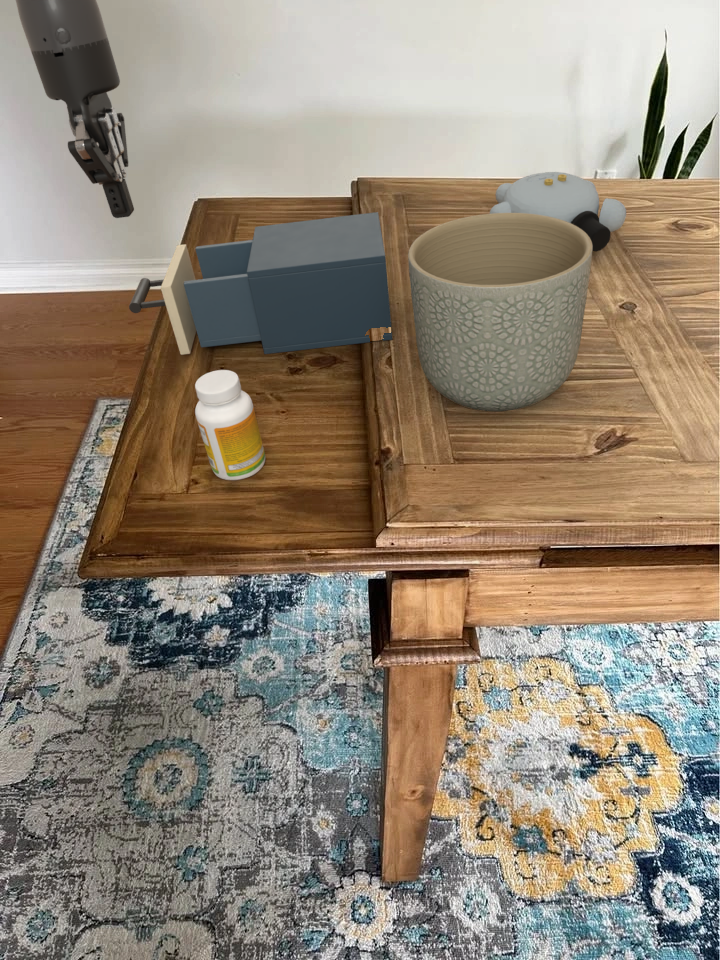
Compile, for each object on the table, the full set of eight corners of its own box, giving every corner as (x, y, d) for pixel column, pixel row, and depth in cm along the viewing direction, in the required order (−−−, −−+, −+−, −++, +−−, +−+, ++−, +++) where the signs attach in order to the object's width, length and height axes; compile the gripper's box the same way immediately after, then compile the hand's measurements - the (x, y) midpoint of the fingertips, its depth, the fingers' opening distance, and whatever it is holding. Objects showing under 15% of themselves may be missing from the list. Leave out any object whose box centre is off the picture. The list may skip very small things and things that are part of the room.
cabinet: (264, 354, 88) (246, 271, 82) (270, 303, 99) (255, 226, 92) (392, 339, 88) (385, 255, 81) (385, 290, 98) (378, 211, 91)
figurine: (464, 228, 110) (541, 289, 97) (467, 172, 104) (549, 229, 91) (560, 201, 115) (646, 255, 101) (568, 145, 109) (660, 196, 95)
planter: (519, 453, 69) (525, 304, 59) (384, 397, 78) (371, 260, 69) (608, 372, 77) (627, 230, 68) (478, 330, 87) (477, 201, 77)
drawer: (138, 359, 89) (115, 292, 83) (156, 312, 98) (136, 249, 93) (298, 341, 88) (286, 272, 82) (301, 295, 98) (290, 231, 92)
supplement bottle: (276, 453, 73) (257, 369, 67) (248, 486, 69) (225, 401, 63) (231, 443, 75) (208, 361, 69) (201, 475, 71) (175, 392, 65)
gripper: (54, 35, 78) (108, 200, 88) (6, 56, 67) (74, 240, 78) (122, 25, 77) (168, 193, 88) (84, 44, 67) (142, 232, 77)
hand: (124, 215), depth 83 cm, fingers closed
